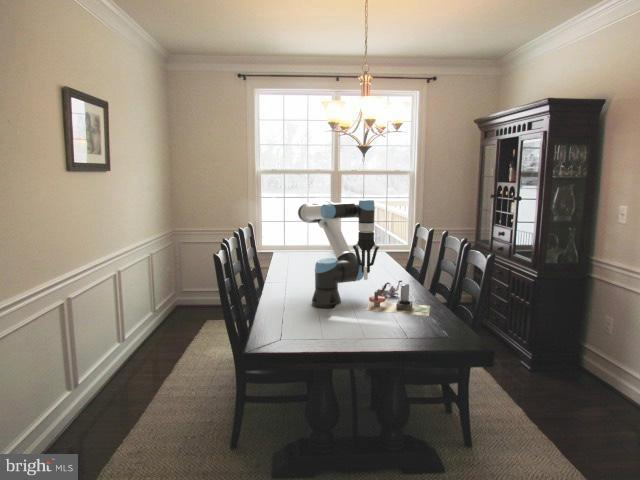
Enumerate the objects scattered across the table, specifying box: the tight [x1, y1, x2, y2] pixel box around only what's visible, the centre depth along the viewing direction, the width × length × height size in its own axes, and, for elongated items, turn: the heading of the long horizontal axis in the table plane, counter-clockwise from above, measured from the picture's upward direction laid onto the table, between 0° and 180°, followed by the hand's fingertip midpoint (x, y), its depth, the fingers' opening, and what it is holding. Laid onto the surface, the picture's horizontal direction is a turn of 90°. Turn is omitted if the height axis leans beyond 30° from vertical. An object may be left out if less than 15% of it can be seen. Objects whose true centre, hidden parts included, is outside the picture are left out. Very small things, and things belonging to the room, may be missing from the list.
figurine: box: [376, 280, 403, 298], centre depth 242 cm, size 12×9×15 cm
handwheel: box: [368, 290, 386, 307], centre depth 225 cm, size 8×8×8 cm
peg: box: [400, 283, 410, 305], centre depth 221 cm, size 4×4×12 cm
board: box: [365, 299, 431, 317], centre depth 223 cm, size 30×16×4 cm, turn 73°
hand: (365, 279), depth 222 cm, fingers closed
